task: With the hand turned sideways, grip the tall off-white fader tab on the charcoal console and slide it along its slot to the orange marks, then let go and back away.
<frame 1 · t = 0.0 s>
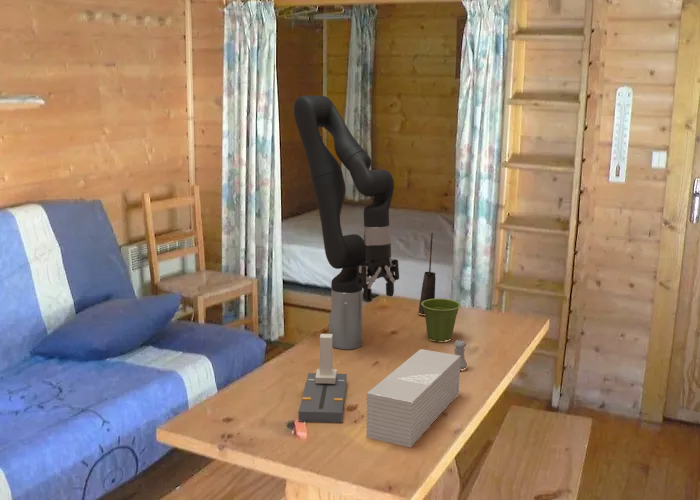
hand: (379, 298, 217), 17 cm above the table, tool pointing down, fingers open, 8 cm apart
fader console: (324, 401, 190), on the table
fader tab: (326, 389, 196), resting on fader console, slide at 0.0 cm
plant pot: (439, 339, 236), on the table
butter churn: (426, 316, 260), on the table
stack of papers: (415, 416, 182), on the table
rook chess piece: (458, 369, 212), on the table
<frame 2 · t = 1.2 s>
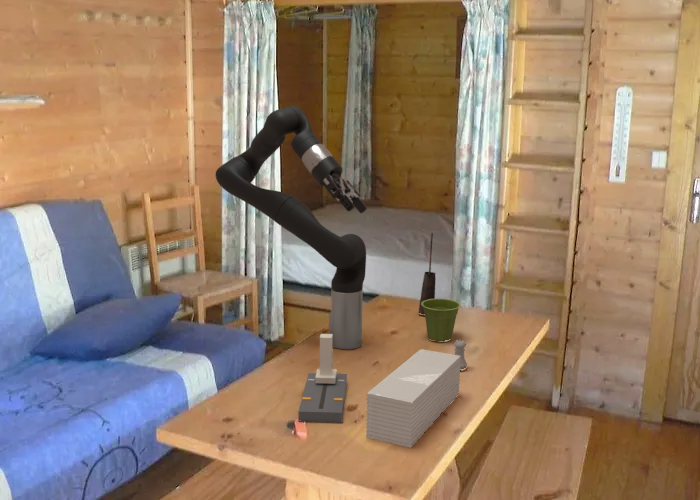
hand: (358, 210, 202), 44 cm above the table, tool tilted 45°, fingers open, 8 cm apart
nothing on the table moved.
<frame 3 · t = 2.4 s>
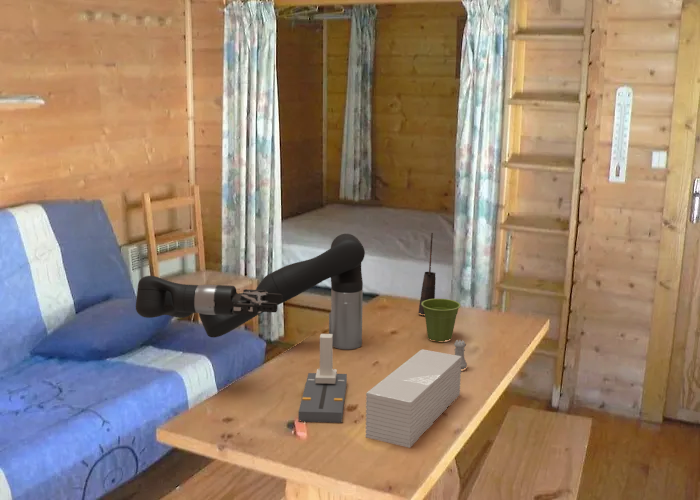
hand: (279, 303, 192), 23 cm above the table, tool horizontal, fingers open, 8 cm apart
nothing on the table moved.
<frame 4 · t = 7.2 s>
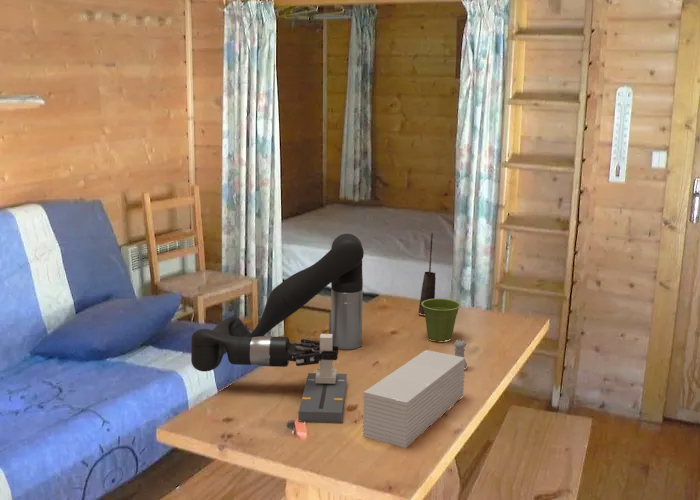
hand: (337, 353, 194), 10 cm above the table, tool horizontal, fingers closed on fader tab, 3 cm apart
fader tab: (326, 389, 196), resting on fader console, slide at 0.0 cm, touching gripper
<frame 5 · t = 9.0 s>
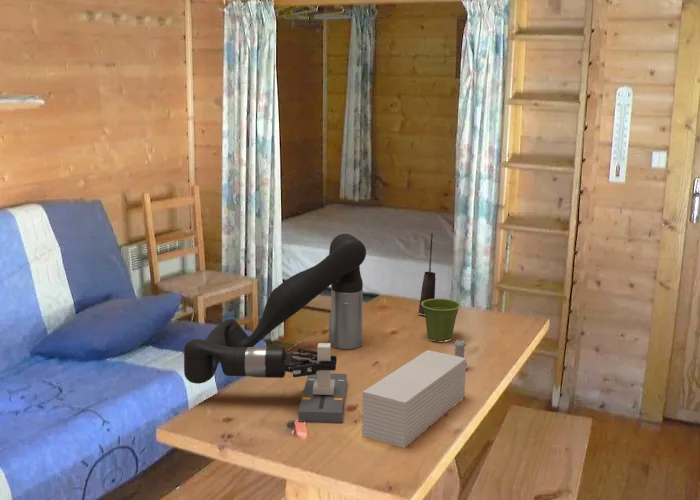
hand: (335, 363, 187), 10 cm above the table, tool horizontal, fingers closed on fader tab, 3 cm apart
fader tab: (324, 401, 190), resting on fader console, slide at 7.0 cm, touching gripper
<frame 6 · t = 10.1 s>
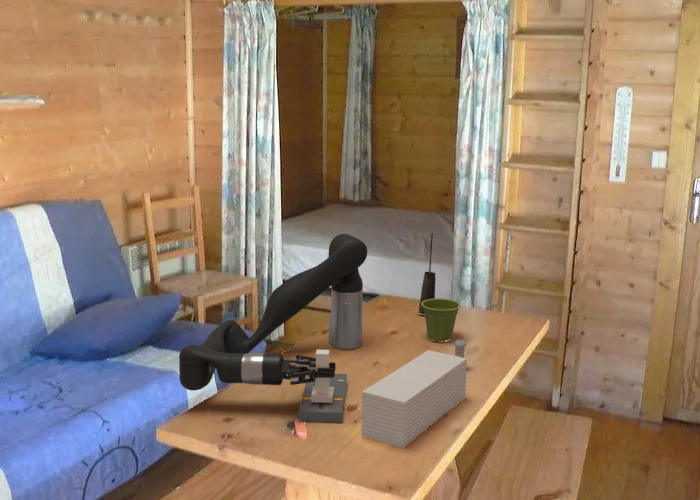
hand: (334, 370, 183), 10 cm above the table, tool horizontal, fingers closed on fader tab, 3 cm apart
fader tab: (322, 409, 185), resting on fader console, slide at 11.7 cm, touching gripper
everything else where it was.
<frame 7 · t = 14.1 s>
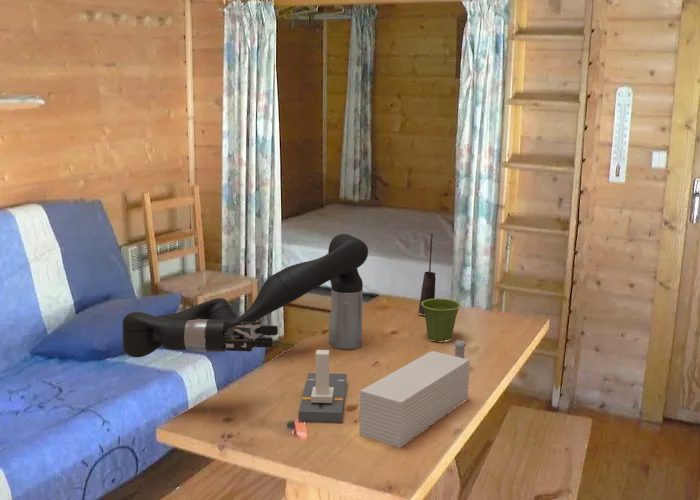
hand: (275, 336, 181), 18 cm above the table, tool horizontal, fingers open, 8 cm apart
fader tab: (322, 409, 185), resting on fader console, slide at 11.9 cm
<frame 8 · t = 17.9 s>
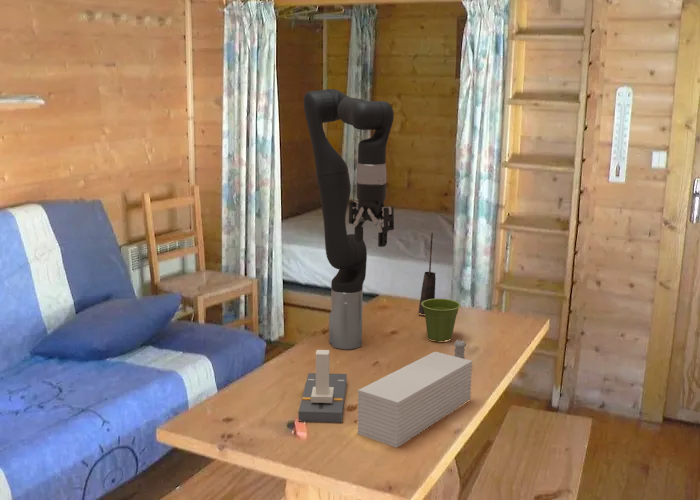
hand: (370, 243, 199), 36 cm above the table, tool pointing down, fingers open, 8 cm apart
at the end: fader tab slide at 11.9 cm; the gripper is holding nothing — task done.
